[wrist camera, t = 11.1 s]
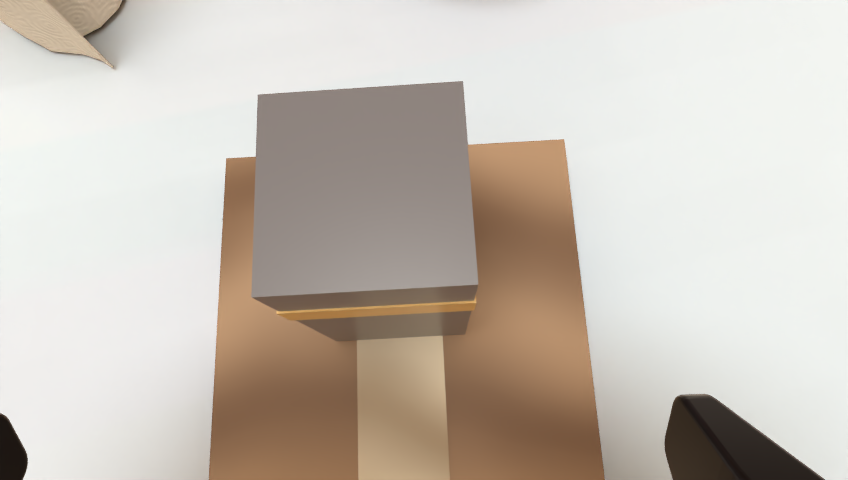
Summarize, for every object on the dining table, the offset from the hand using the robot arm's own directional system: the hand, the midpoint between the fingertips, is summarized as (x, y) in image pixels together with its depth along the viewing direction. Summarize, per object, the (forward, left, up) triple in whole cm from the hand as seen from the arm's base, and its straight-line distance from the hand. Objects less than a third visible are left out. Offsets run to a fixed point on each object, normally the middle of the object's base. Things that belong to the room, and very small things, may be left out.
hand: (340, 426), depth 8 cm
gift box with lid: (+5, 0, -12) cm, 13 cm away
